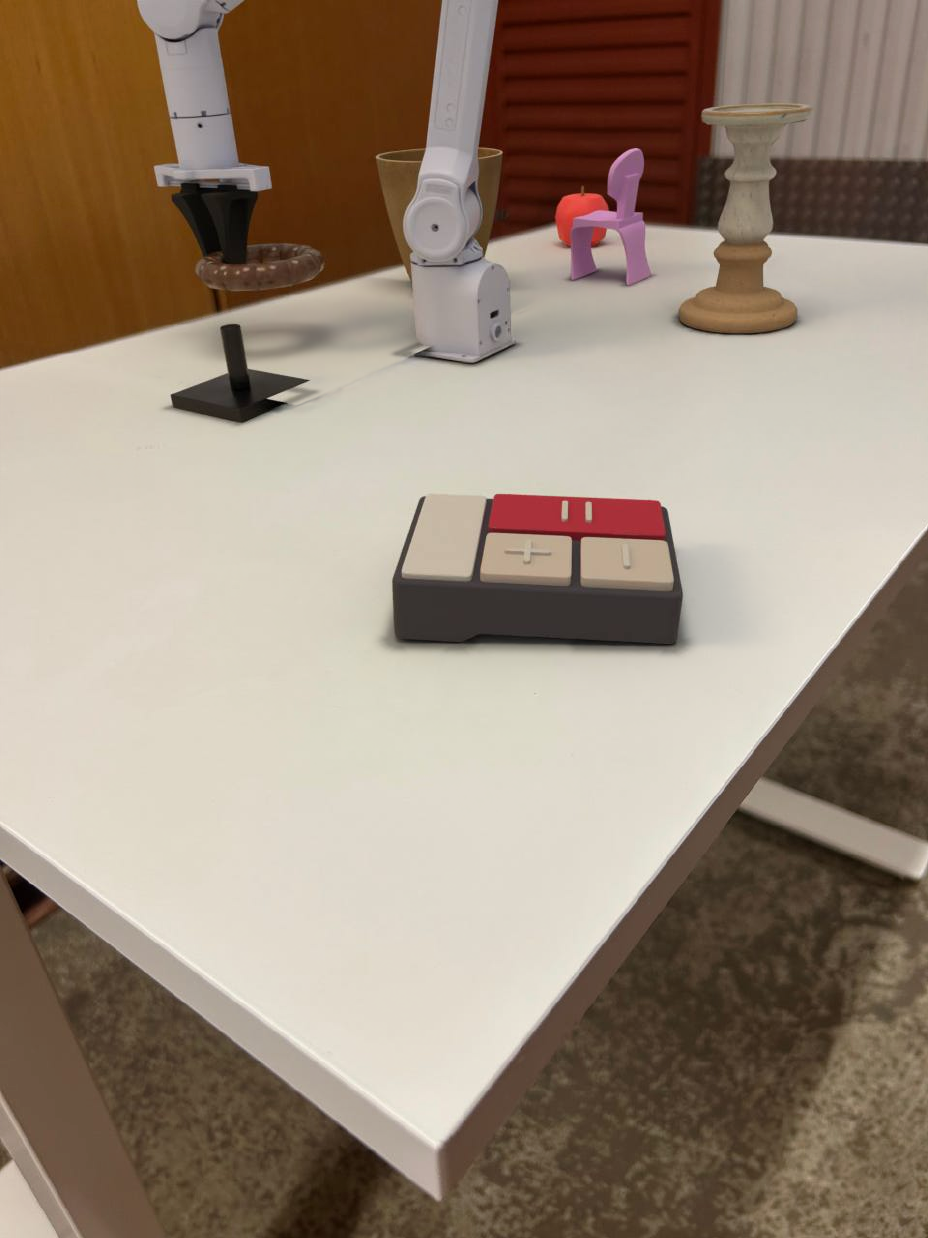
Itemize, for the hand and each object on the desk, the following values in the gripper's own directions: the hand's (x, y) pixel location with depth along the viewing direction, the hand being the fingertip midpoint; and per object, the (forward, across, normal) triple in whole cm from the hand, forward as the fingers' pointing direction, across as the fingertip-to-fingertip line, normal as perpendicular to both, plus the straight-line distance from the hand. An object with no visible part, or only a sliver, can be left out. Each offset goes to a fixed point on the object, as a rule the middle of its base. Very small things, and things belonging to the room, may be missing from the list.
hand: (226, 264), depth 98 cm
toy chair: (+9, +20, +45) cm, 50 cm away
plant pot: (+9, +6, +30) cm, 32 cm away
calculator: (+9, +55, -29) cm, 63 cm away
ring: (0, +5, 0) cm, 5 cm away
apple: (+9, +6, +63) cm, 64 cm away
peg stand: (+9, +13, -12) cm, 20 cm away
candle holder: (+9, +43, +32) cm, 54 cm away
